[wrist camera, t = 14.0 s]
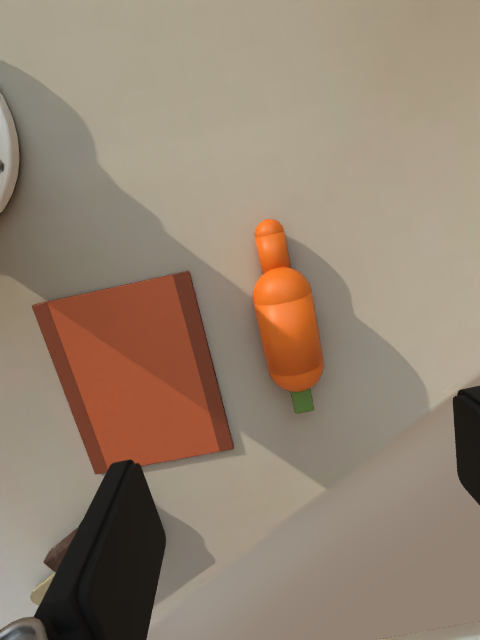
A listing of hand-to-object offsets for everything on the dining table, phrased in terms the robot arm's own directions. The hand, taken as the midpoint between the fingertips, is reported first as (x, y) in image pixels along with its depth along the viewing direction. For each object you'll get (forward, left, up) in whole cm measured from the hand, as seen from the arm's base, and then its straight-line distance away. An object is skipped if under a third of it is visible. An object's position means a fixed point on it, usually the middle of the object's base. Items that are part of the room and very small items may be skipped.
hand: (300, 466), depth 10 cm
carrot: (+1, +2, -17) cm, 17 cm away
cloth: (+3, -11, -17) cm, 20 cm away
